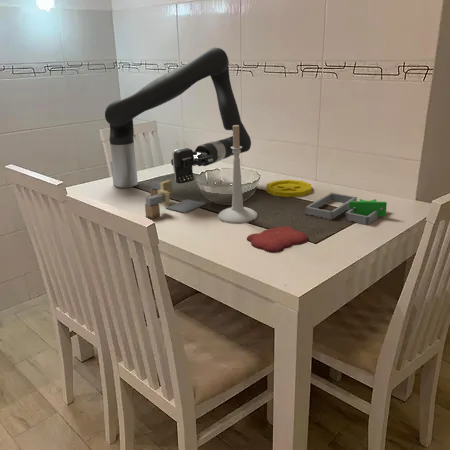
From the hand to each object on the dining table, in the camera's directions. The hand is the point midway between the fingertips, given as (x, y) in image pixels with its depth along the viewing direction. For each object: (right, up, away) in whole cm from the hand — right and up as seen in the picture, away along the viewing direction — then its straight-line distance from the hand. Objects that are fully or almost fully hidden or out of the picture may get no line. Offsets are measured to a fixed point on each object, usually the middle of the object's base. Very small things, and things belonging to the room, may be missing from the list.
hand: (178, 163), depth 160 cm
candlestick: (+20, -18, -3) cm, 27 cm away
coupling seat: (+2, -14, +8) cm, 16 cm away
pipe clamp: (+61, -17, -6) cm, 64 cm away
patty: (+31, -25, -22) cm, 45 cm away
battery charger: (+2, -6, +5) cm, 8 cm away
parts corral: (+56, -16, -2) cm, 58 cm away
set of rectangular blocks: (-8, -15, +7) cm, 18 cm away
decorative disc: (+40, -8, +23) cm, 46 cm away
